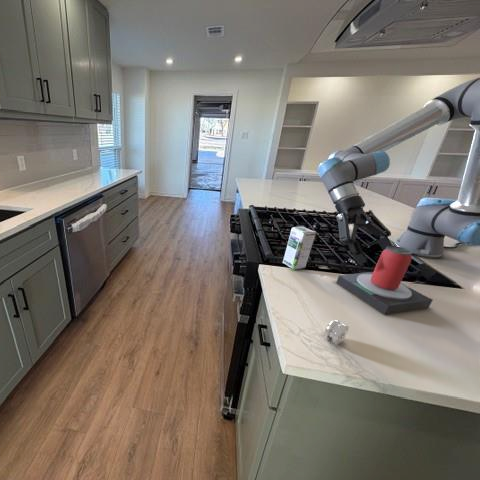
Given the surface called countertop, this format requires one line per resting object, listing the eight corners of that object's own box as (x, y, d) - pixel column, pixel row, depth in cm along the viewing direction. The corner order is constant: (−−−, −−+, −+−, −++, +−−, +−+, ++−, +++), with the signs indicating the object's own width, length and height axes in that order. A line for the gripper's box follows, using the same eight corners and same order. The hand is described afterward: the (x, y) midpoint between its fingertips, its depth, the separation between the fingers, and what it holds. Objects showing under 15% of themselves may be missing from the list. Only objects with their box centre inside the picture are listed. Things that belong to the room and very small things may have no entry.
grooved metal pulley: (333, 347, 58) (340, 331, 56) (320, 339, 61) (326, 323, 59) (344, 339, 61) (351, 323, 59) (331, 331, 63) (337, 315, 61)
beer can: (402, 292, 74) (420, 256, 69) (377, 289, 75) (393, 253, 70) (388, 280, 80) (404, 246, 75) (365, 277, 81) (379, 243, 76)
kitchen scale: (374, 278, 87) (378, 269, 86) (428, 308, 73) (434, 298, 72) (336, 283, 84) (339, 273, 83) (384, 314, 70) (389, 304, 68)
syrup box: (281, 262, 96) (290, 227, 90) (294, 260, 98) (303, 225, 92) (293, 270, 91) (303, 233, 85) (306, 268, 93) (317, 231, 87)
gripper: (361, 203, 92) (391, 258, 85) (310, 208, 84) (338, 269, 77) (383, 192, 85) (417, 251, 78) (329, 196, 77) (362, 262, 71)
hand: (378, 260), depth 78 cm, fingers open, 13 cm apart
